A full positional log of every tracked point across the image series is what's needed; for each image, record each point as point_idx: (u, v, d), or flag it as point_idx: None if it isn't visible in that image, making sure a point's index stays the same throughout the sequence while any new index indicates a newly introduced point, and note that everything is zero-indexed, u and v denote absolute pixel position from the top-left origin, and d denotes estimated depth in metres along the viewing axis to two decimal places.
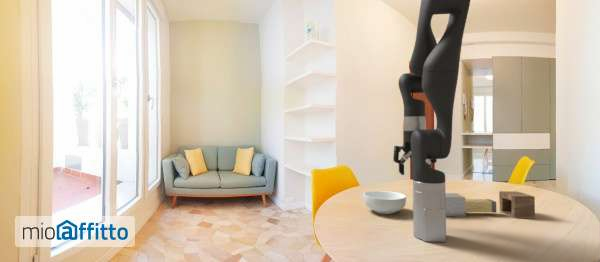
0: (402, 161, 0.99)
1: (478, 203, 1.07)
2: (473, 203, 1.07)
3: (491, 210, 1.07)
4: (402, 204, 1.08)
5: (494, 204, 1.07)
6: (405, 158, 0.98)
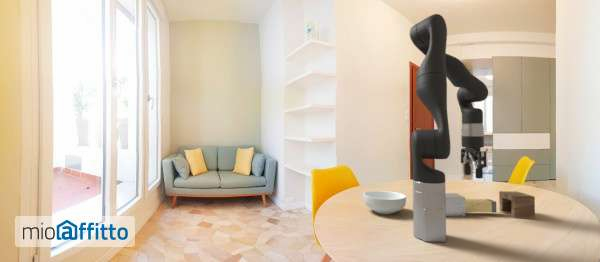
0: None
1: (478, 203, 1.07)
2: (473, 203, 1.07)
3: (491, 210, 1.07)
4: (402, 204, 1.08)
5: (494, 204, 1.07)
6: None
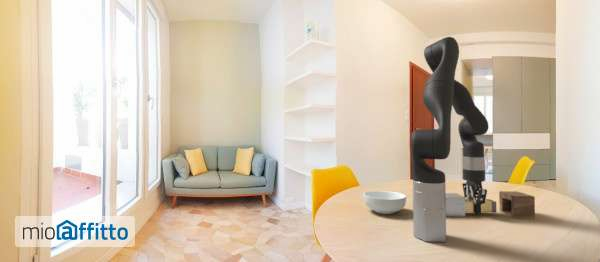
0: None
1: None
2: (473, 203, 1.07)
3: (491, 210, 1.07)
4: (402, 204, 1.08)
5: (494, 204, 1.07)
6: None
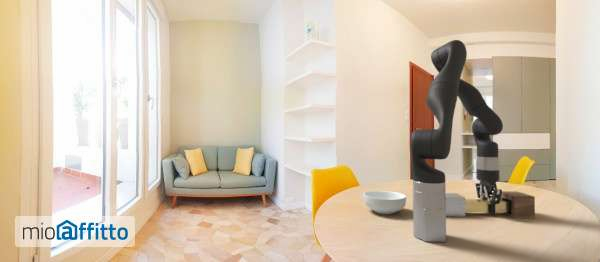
0: None
1: None
2: (487, 203, 1.07)
3: (505, 210, 1.06)
4: (402, 204, 1.08)
5: (508, 204, 1.06)
6: None
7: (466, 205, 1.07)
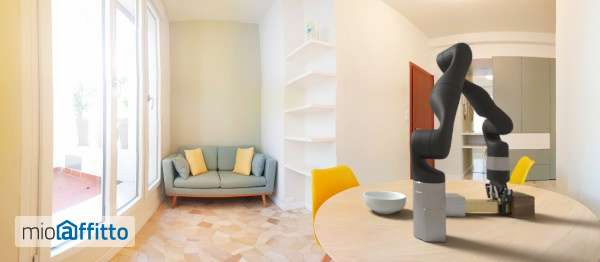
0: None
1: None
2: (498, 203, 1.06)
3: None
4: (402, 204, 1.08)
5: None
6: None
7: (476, 205, 1.07)
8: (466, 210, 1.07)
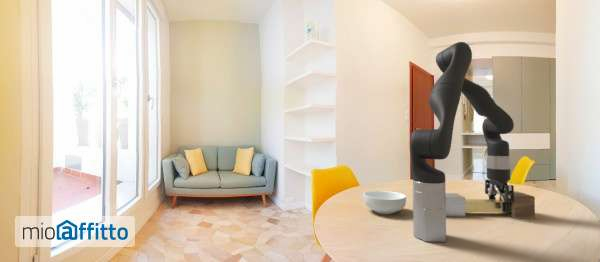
0: None
1: None
2: (498, 203, 1.06)
3: None
4: (402, 204, 1.08)
5: None
6: None
7: (476, 205, 1.07)
8: (466, 210, 1.07)
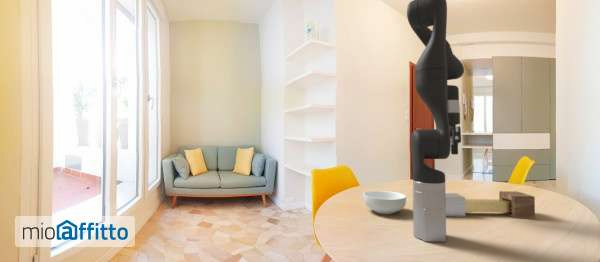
0: None
1: (503, 203, 1.06)
2: (498, 203, 1.06)
3: None
4: (402, 204, 1.08)
5: None
6: (457, 138, 1.05)
7: (476, 205, 1.07)
8: (466, 210, 1.07)
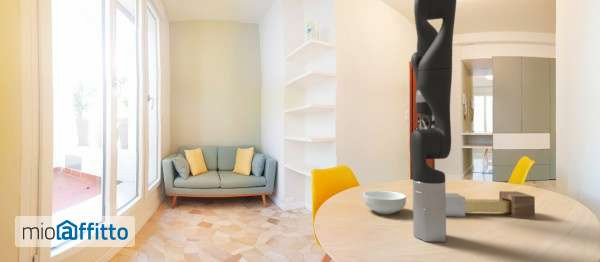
0: None
1: (503, 203, 1.06)
2: (498, 203, 1.06)
3: None
4: (402, 204, 1.08)
5: None
6: None
7: (476, 205, 1.07)
8: (466, 210, 1.07)
